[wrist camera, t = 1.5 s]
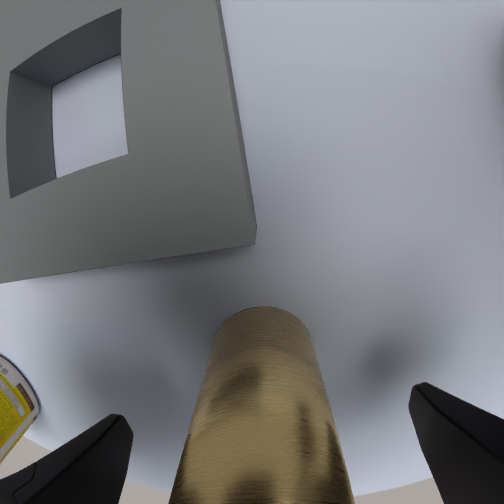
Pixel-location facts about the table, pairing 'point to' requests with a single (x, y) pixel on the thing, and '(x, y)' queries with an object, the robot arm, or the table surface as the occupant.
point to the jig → (137, 132)
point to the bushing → (262, 420)
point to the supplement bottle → (14, 407)
